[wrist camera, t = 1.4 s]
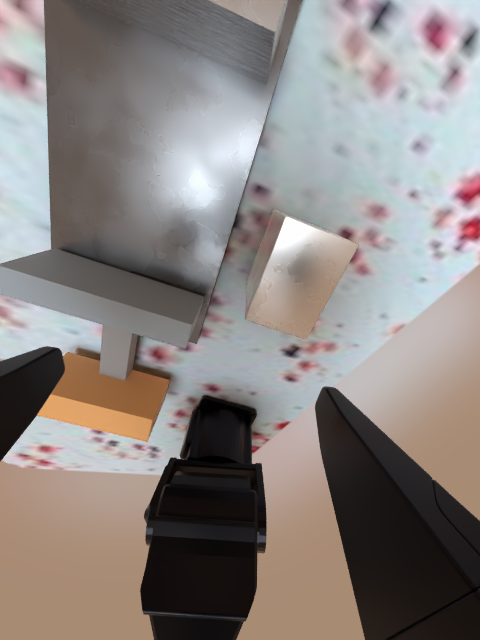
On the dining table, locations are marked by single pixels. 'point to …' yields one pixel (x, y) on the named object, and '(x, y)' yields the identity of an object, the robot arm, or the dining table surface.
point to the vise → (157, 128)
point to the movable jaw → (105, 336)
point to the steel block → (294, 274)
